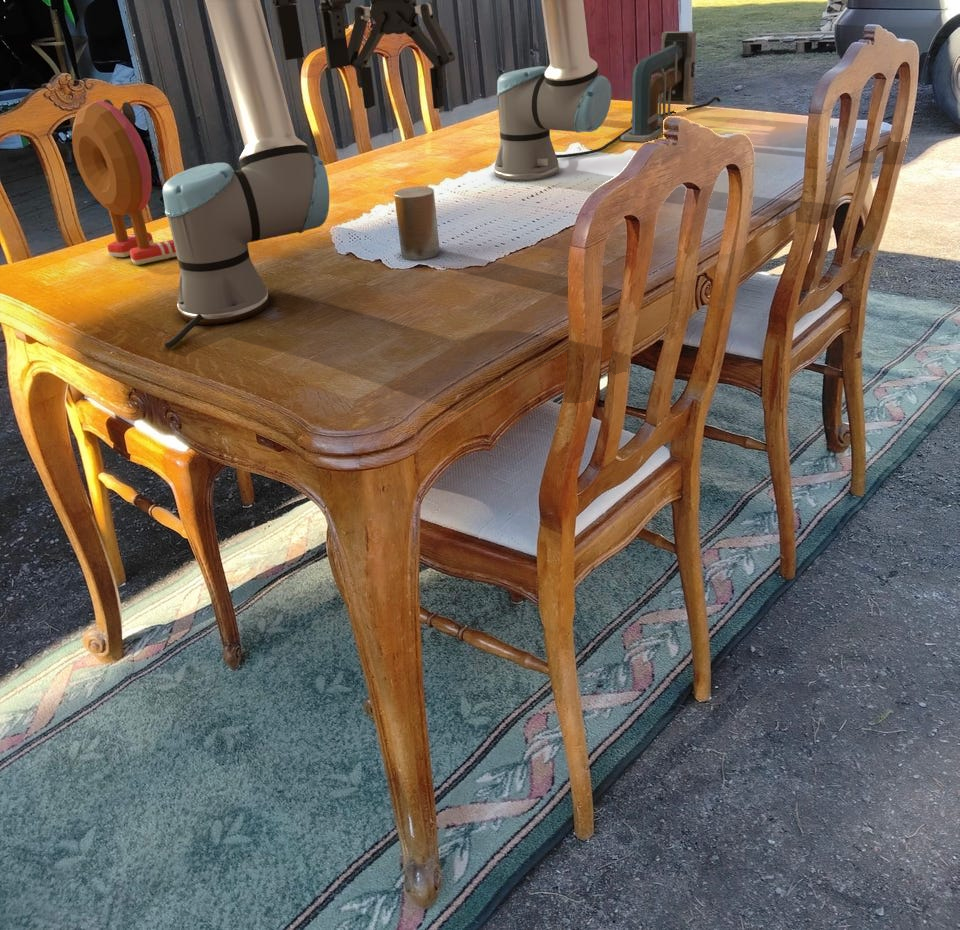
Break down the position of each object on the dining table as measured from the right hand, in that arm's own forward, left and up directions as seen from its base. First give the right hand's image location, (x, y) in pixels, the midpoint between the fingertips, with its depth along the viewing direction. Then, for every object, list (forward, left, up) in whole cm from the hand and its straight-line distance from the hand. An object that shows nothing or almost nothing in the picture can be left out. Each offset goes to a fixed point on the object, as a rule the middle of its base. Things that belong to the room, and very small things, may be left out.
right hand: (403, 107), depth 170 cm
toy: (+11, -57, -27) cm, 64 cm away
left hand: (+43, +10, +14) cm, 46 cm away
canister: (0, 0, -27) cm, 27 cm away
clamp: (-109, +20, -27) cm, 114 cm away
